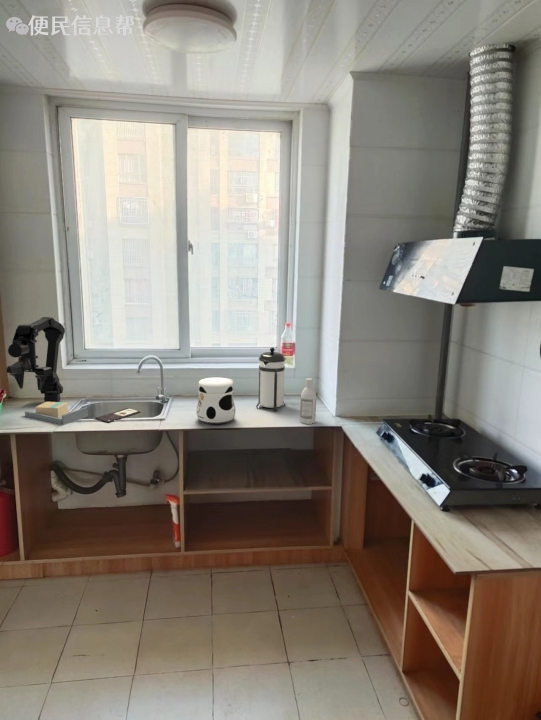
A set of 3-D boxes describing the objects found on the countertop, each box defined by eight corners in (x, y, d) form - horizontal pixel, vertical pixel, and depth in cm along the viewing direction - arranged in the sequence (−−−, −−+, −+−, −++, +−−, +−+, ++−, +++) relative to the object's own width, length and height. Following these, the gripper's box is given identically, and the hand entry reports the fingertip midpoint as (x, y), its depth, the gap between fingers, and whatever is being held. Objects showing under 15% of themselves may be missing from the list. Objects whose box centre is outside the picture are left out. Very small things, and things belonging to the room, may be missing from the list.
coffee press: (291, 411, 225) (293, 350, 219) (259, 412, 221) (260, 350, 215) (282, 400, 241) (283, 343, 235) (251, 402, 237) (252, 344, 231)
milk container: (189, 418, 210) (189, 380, 206) (222, 412, 220) (222, 375, 217) (208, 429, 197) (208, 388, 193) (242, 422, 207) (243, 383, 203)
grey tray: (49, 411, 216) (48, 399, 214) (88, 419, 206) (87, 407, 205) (24, 419, 204) (23, 407, 203) (64, 428, 194) (63, 415, 193)
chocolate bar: (95, 418, 206) (127, 408, 221) (95, 420, 206) (127, 410, 221) (108, 422, 202) (140, 411, 216) (108, 424, 202) (140, 413, 217)
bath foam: (307, 418, 214) (308, 376, 210) (318, 422, 209) (320, 379, 205) (296, 421, 210) (298, 378, 206) (308, 425, 205) (309, 381, 201)
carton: (46, 411, 211) (46, 401, 210) (68, 412, 210) (67, 402, 209) (36, 417, 203) (35, 407, 202) (58, 418, 202) (57, 408, 201)
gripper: (-5, 355, 195) (-3, 391, 197) (33, 358, 191) (35, 395, 193) (15, 351, 205) (17, 386, 208) (51, 354, 201) (53, 389, 204)
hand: (30, 389), depth 203 cm, fingers open, 9 cm apart
